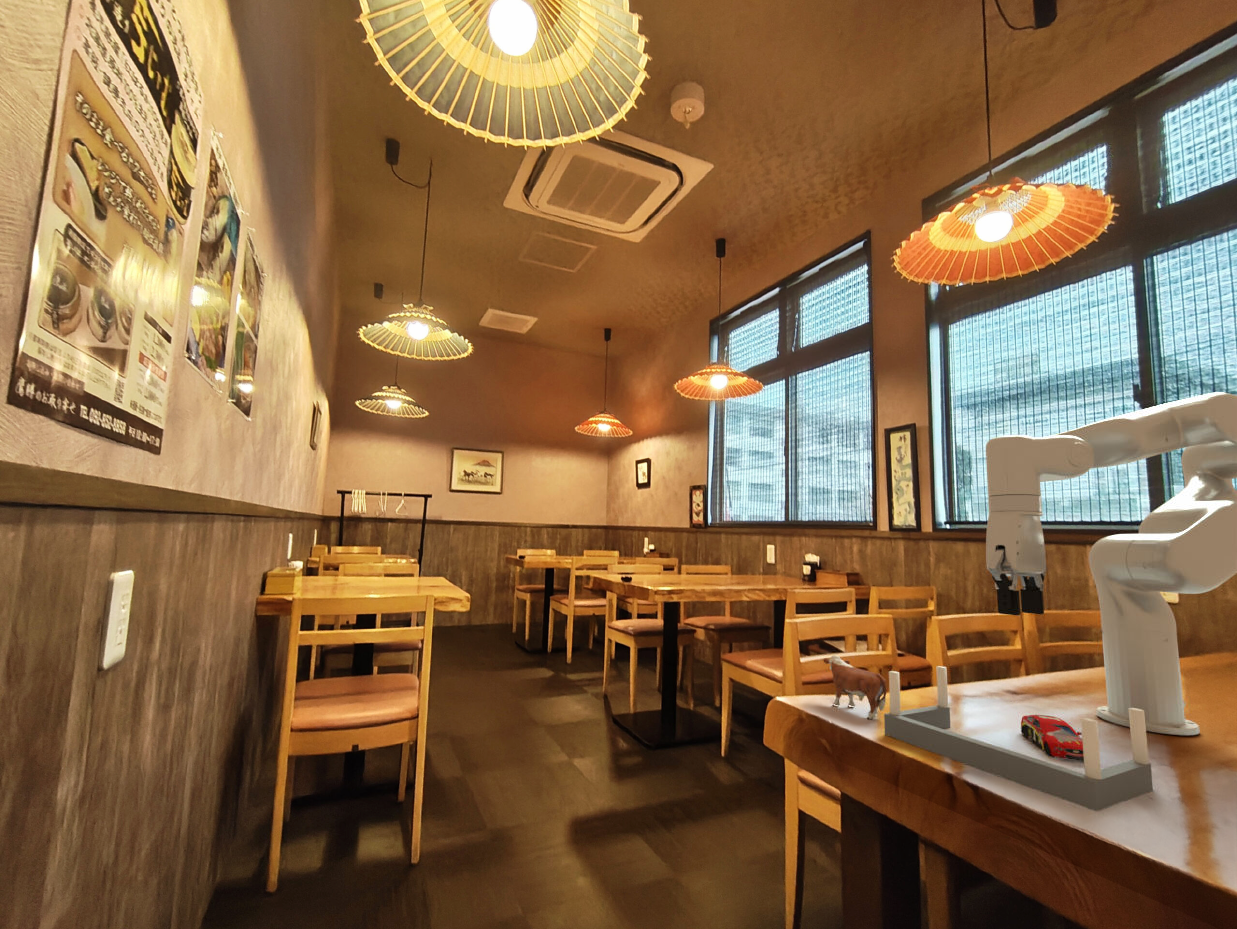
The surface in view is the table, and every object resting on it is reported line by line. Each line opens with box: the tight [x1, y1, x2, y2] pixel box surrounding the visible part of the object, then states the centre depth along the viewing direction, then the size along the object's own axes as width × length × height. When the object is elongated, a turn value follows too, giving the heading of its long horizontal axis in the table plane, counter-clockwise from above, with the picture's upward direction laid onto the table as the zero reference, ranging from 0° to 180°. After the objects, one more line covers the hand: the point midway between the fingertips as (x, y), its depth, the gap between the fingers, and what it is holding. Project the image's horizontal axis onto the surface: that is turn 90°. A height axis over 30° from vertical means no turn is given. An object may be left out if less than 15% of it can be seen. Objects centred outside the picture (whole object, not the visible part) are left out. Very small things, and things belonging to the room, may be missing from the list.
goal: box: [883, 665, 1154, 812], centre depth 76 cm, size 14×26×9 cm, turn 28°
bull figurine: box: [823, 654, 887, 720], centre depth 97 cm, size 4×13×8 cm, turn 18°
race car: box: [1020, 714, 1084, 762], centre depth 81 cm, size 13×5×4 cm, turn 162°
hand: (1021, 612), depth 95 cm, fingers open, 6 cm apart
